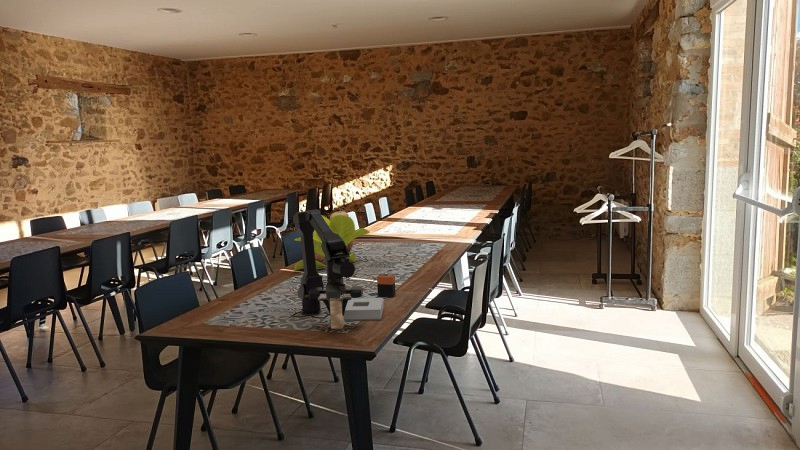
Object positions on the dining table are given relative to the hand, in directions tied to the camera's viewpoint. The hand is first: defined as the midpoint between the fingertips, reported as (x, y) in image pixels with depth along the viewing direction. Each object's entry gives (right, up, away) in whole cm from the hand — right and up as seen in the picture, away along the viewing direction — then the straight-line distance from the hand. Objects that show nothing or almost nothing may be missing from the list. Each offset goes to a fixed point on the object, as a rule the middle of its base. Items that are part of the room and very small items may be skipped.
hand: (337, 315), depth 222 cm
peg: (0, -4, +1) cm, 4 cm away
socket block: (+8, -2, +15) cm, 17 cm away
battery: (+17, +2, +40) cm, 44 cm away
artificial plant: (-13, +10, +100) cm, 101 cm away
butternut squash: (-11, +15, +135) cm, 136 cm away
